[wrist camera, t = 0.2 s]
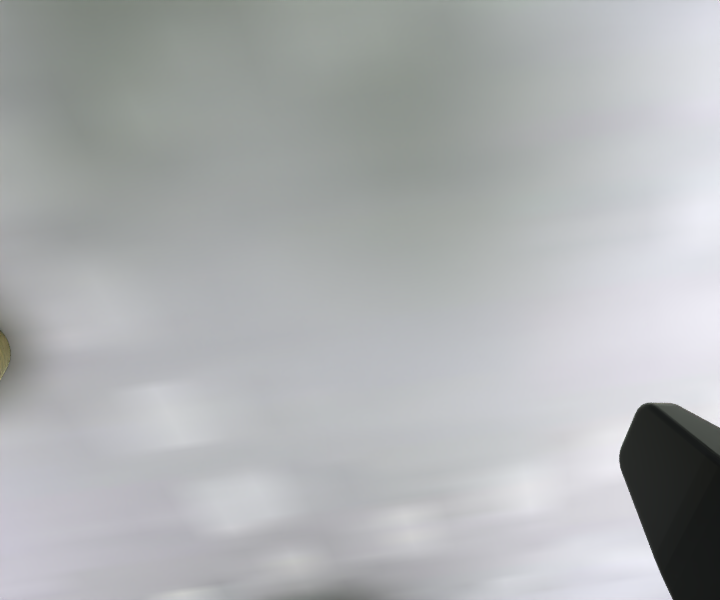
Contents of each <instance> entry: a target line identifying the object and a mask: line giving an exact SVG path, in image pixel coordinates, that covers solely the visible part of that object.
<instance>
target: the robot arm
mask: <svg viewBox="0 0 720 600" xmlns="http://www.w3.org/2000/svg"><path fill="white" fill-rule="evenodd" d="M619 462H620V468H621V471H622V474H623V476H624V479H625V482H626V484H627V487H628V490H629V492H630V495H631V497H632V500H633V503H634V505H635V508H636V511H637V513H638V516H639V519H640V521H641V524H642V527H643V529H644V532H645V535H646V537H647V540H648V542H649V545H650V548H651V550H652V553H653V556H654V558H655V561H656V563H657V566H658V568H659V570H660V573H661V575H662V577H663V580H664V582H665V584H666V586H667V588H668V590H669V593H670V595H671V597H672V599H673V600H720V428H719V427H717V426H715V425H714V424H712V423H710V422H708V421H706V420H704V419H702V418H701V417H699V416H697V415H695V414H693V413H691V412H690V411H688V410H686V409H684V408H682V407H680V406H678V405H676V404H672V403H645V404H643V405H641V406H640V407H639V408H638V410H637V412H636V414H635V416H634V418H633V421H632V423H631V425H630V428H629V430H628V432H627V435H626V437H625V440H624V442H623V444H622V447H621V450H620V455H619Z"/></svg>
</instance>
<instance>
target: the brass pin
mask: <svg viewBox="0 0 720 600" xmlns="http://www.w3.org/2000/svg"><path fill="white" fill-rule="evenodd" d="M10 356H11V355H10V347H9V344H8V341H7V339H6V338H5V336H4V334H3V333H2V332H1V331H0V380H1V378H2V376H3V374H4V372H5V371H6V369H7V367H8V365H9V362H10Z"/></svg>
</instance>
